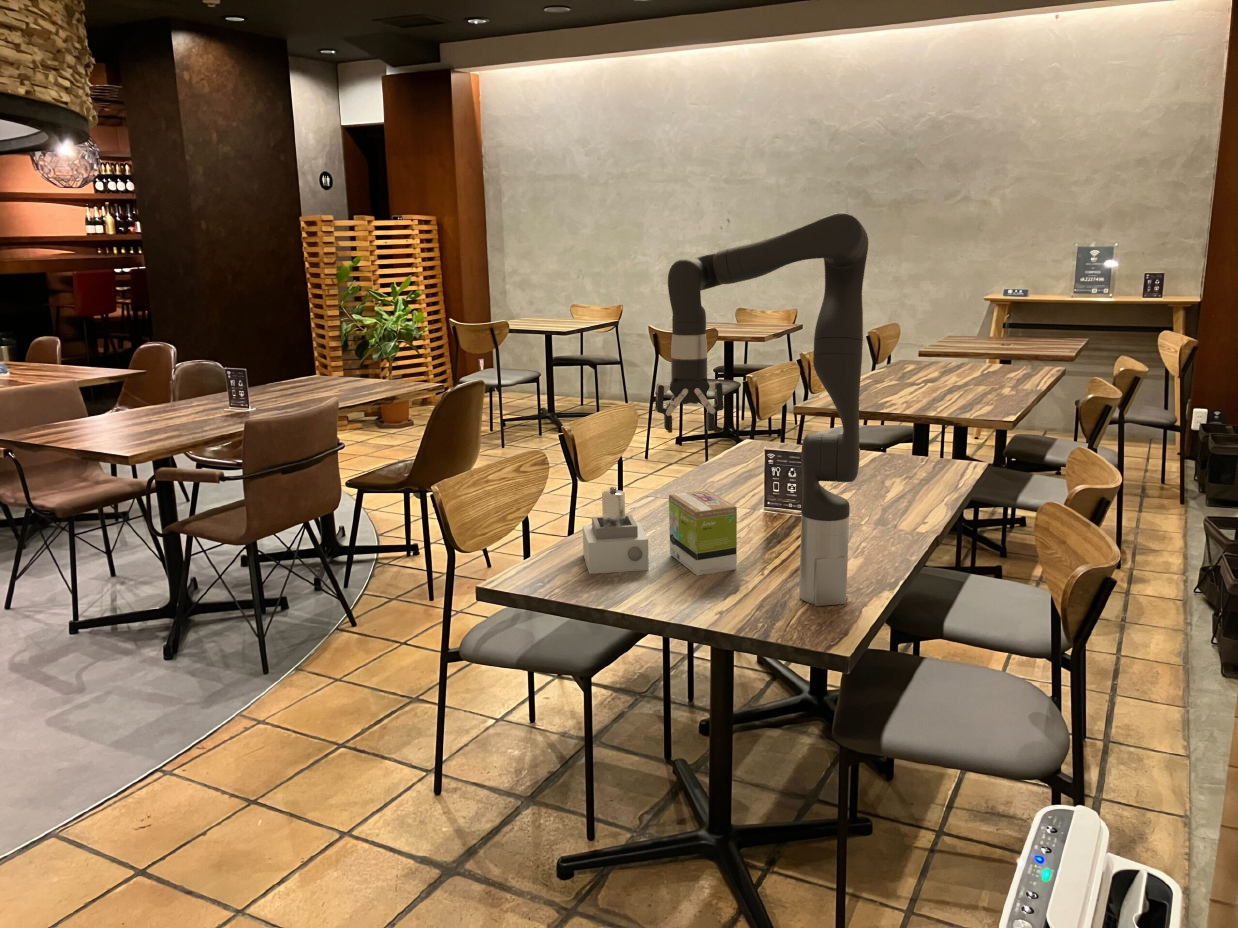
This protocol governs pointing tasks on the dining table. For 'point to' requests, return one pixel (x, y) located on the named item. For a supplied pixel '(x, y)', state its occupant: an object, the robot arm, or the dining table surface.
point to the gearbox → (615, 547)
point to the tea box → (703, 532)
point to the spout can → (613, 507)
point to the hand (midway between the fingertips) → (689, 431)
